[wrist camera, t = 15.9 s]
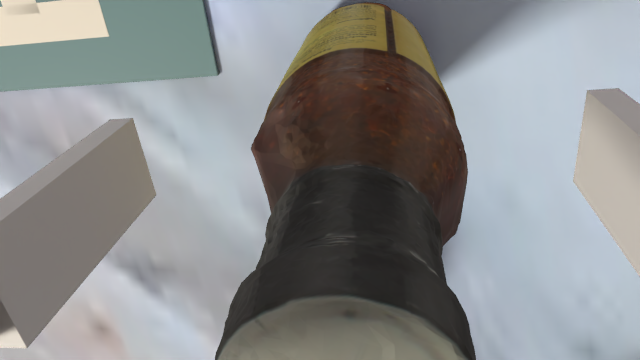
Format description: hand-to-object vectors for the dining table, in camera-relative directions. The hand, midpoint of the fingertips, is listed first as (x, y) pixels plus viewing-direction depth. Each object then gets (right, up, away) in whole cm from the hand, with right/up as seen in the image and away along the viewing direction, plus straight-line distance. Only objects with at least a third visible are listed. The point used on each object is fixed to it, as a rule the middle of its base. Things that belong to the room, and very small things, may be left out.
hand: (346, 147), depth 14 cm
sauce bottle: (+2, +5, +10) cm, 12 cm away
